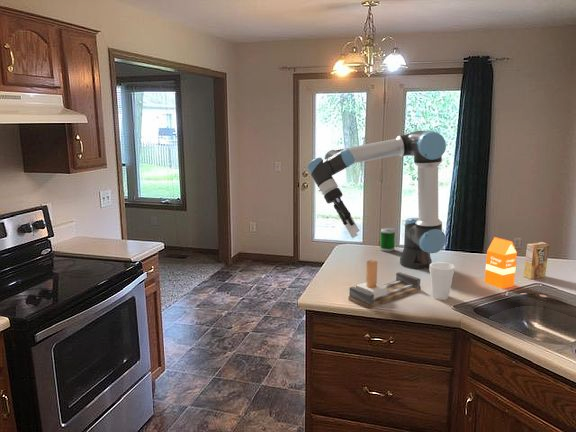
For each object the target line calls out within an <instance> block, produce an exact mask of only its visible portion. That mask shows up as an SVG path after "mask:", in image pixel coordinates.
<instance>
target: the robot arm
mask: <svg viewBox="0 0 576 432" xmlns="http://www.w3.org/2000/svg"><path fill="white" fill-rule="evenodd" d="M446 149H447V143H446V139H445V138H444V136H443V135H442V134H440V133H439V132H436V131H433V130H416V131H413V132H410V133H409V132H408V133H406V134H402V135H398V136H396V138H393V139H386V140H382V141H376V142H371V143H366V144H361V145H360V144H359V145H357V146H350V147H346V148H341V149H331V150H328V151H327V152H326V153H325V155H324V158H322V157H317V158H314V159H312V160H311V161H310V162H309V163H308V164H307V165H306V167H307V170H308V171H309V173H310V176H311V177H312V179H313V181H314V182H315V184H316V186H317V187H318V192H319V193H321V195H322V196H323V198H324V201H326V203H327V204H332V203H333V208H334V210H336V212H337V214H338V217H340V220H341V222H342V224H343V225H344V227H345V228H346V230H347V232H348V233H349V236H350V237H351V239H354V238H355V237H357V236H358V233H359V232H360V229H359V227H358V226H357V224H356V222H355V220H354V218H353V217H352V215H351V211H349V209H348V208H347V206H346V205H345V204H344V201H343V200H342V199H341V198H342V197H343V193H342V190H341V189H340V188H339V185H338V183H337V182H336V180H335V179H334V177H333V175H336V174H338V173H340V172H341V171H344V170H346V169H347V168H349V167H351V166H352V165H354V164H357V163H363V162H368V161H375V160H379V159H384V158H389V157H394V156H399V157H406V156H407V157H408V156H413V163H414V164H415V166H417V187H418V188H417V192H418V193H417V199H418V202H417V203H418V217H409V218H406V219H405V220H404V221H405V222H404V236H403V237H404V239H403V240H404V242H403V244H404V245H403V250H402V252H401V254H400V257H399V265H401V266H403V267H406V268H410V269H427V268H428V269H429V268H430V264H431V263H433V260H432V256H431V254H436V253H439V252H441V250H442V249H444V247H445V245H446V243H447V237H446V234H445V232H444V231H443V222H442V220H440V218H439V165H440V164H441V163H442V161H443V160H442V158H443V155H444V154H445V152H446Z"/></svg>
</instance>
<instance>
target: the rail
mask: <svg viewBox="0 0 576 432" xmlns="http://www.w3.org/2000/svg"><path fill="white" fill-rule="evenodd" d="M382 285H383V286H385V287H387V294H386V295H383V296H380V297H377V298H375V299H374V294H371V293H369V292H366V291H364V290H361V289H358V288H356V286H350V287H349V296H348V301H350V302H352V303H354V304H357V305H360V306H363V307H364V308H367V309H371V308H375V307H377V306H380V305H382V304H385V303H388V302H390V301H394V300H396V299H400V298H403V297H405V296H407V295H410V294H413V293H416V292H419V291H421V289H422V288H421V278H419V277H416V276H413V275H410V274H406V273H403V272H402V271H401V272H400V271H399V272H396V274H395V280H394V281H392V282H388V283H385V284H382Z"/></svg>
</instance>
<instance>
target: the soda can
mask: <svg viewBox="0 0 576 432" xmlns="http://www.w3.org/2000/svg"><path fill="white" fill-rule="evenodd" d="M395 244H396V230H395V229H394V228H393V227H383V228H382V229H380V244H379V245H380V246H379V247H380V250H381V251H382V252H388V253H389V252H393V251H394V250H395V246H396V245H395Z"/></svg>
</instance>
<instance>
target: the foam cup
mask: <svg viewBox="0 0 576 432" xmlns="http://www.w3.org/2000/svg"><path fill="white" fill-rule="evenodd" d="M428 269H429V275H430V279H429V280H430V289H431V297H432V298H433V299H436V300H443V301H444V300H448V299H449V296H450V292H451V287H452V282H453V278H454V274H455V265H454V264H452V263H449V262H442V261H439V262H438V261H436V262H434V261H433V262H432V263H431V264H430V267H428Z"/></svg>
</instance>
